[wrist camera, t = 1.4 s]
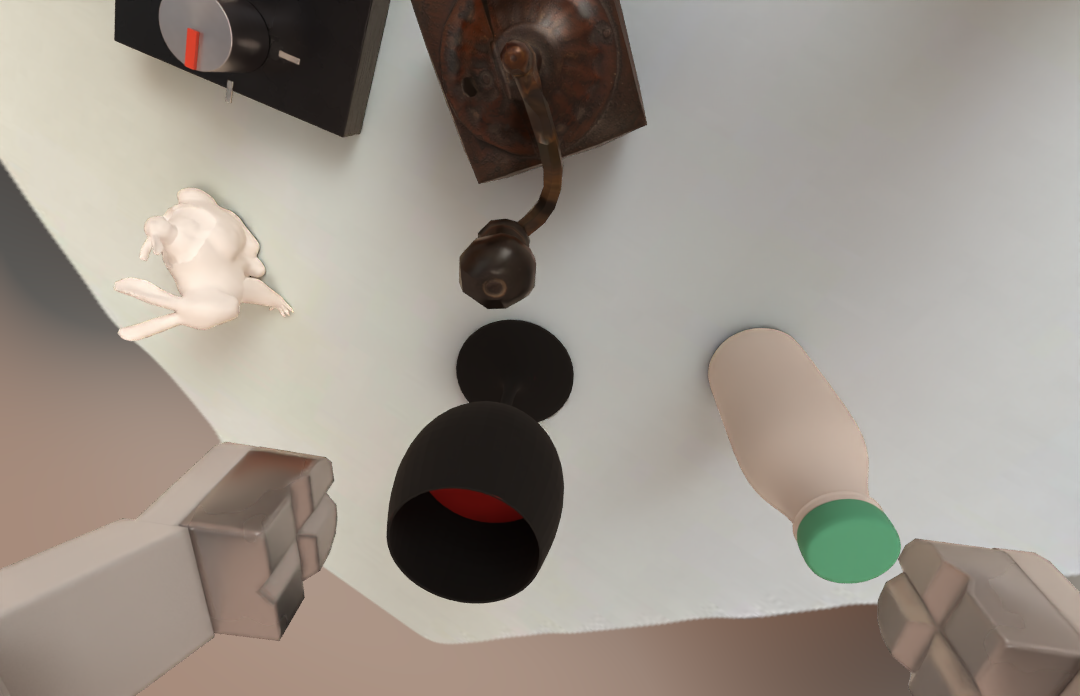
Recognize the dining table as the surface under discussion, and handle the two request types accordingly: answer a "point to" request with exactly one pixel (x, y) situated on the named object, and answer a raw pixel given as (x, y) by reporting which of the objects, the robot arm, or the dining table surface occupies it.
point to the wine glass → (485, 471)
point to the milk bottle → (802, 453)
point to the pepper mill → (527, 108)
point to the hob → (289, 56)
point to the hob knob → (215, 34)
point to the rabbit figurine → (200, 267)
